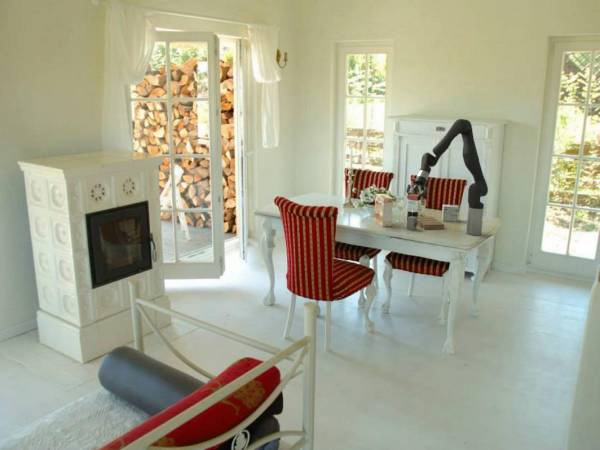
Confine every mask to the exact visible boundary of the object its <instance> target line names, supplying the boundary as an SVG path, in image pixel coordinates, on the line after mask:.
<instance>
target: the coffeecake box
mask: <svg viewBox="0 0 600 450" xmlns="http://www.w3.org/2000/svg"><path fill="white" fill-rule="evenodd" d="M374 199H375V201H374V215H373V217H374V218H373V222H374V223H376V224H377V225H379V226H380V227H382V228H384V227H392V220H393V207H394V205H393V204H394V198H393V197H392V196H390V195H387V194H385V193H375V197H374Z"/></svg>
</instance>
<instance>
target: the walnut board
mask: <svg viewBox="0 0 600 450" xmlns="http://www.w3.org/2000/svg"><path fill="white" fill-rule="evenodd" d="M416 217H417V227H418V226H419V227H420V228H422V230H442V229H443V230H444V229H445V223H443V222H441V221H439V220H438V219H436V218H434V217H433V216H416Z"/></svg>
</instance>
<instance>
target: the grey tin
mask: <svg viewBox="0 0 600 450" xmlns="http://www.w3.org/2000/svg"><path fill="white" fill-rule="evenodd" d="M417 217H418V216H414V215H413V216H412V215H409V216H408V217H407V218H406V219H407V220H406V229H407V230H409V231H410V230H411V231H416V230H417V227H418V225H417Z"/></svg>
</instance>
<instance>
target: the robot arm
mask: <svg viewBox="0 0 600 450" xmlns="http://www.w3.org/2000/svg"><path fill="white" fill-rule="evenodd" d="M459 135H461V138H462V142H463V143H462V144H463V146H462V159H463V162H464V165H465V168H466V169H467V170H468V172H470V174H471V176H472V178H473V180H474V181H473V183H470V185H469V187H468V192H467V203H468V207H467V208H468V209H467V211H468V212H467V220H466V230H465V231H466V233H465V234H467V235H471V236H482V231H483V222H484V221H483V219H484V218H483V216H484V209H485V204H484V203H483V202H481V198H483V197H485V196H486V195H487V194H488V192H489V187H488V184H487V181H486V179H485V175H484V173H483V170H482V165H481V162H480V157H479V154H478V151H477V146H476V143H475V138H474V133H473V126H472V123H471V121H470V120H469V119H464V118H459V119H457V120H455V121H454V122H453V124H452V125H451V127H450V128H449V129H448V131H447V132H446V134H445V135H444V136H443V137H442V138H441V140H440V141H438V143H437V144H436V145H435V146H434V147H433V148H432V153H433V154H432V153H431V152H425V153H423V154H422V157H421V163H420V168H419V171H418V172H417V174H416V177H415V179H414V182H413V184H412V185H411V184H407V187H406V193H407V197H406V198H407V199H408V195H409V194H415V193H419V196H418V201H421V199H422V197H425V196H426V195H427V193H428V191H429V187H428V186H426V185H427V182H428V180H429V177H430V174H431V171H432V168H433V167H435V166H437V164H438V163H439V159H440V158H441V157H442V155H444V153H445V152H446V151H447V150H448V149H449V148H450V147H451V144H452V142H453V141H454V139H455V138H456V137H457V136H459ZM418 201H417V202H418Z"/></svg>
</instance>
